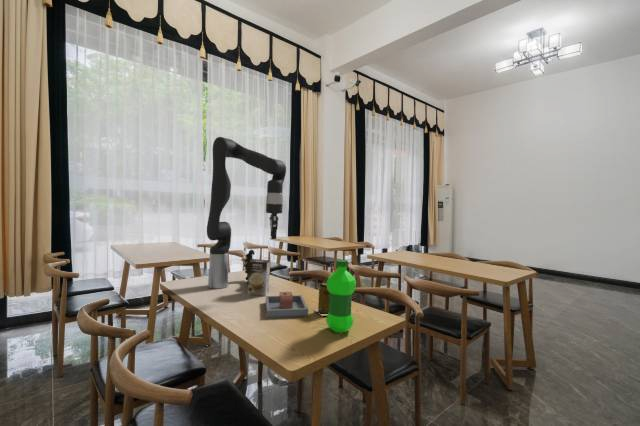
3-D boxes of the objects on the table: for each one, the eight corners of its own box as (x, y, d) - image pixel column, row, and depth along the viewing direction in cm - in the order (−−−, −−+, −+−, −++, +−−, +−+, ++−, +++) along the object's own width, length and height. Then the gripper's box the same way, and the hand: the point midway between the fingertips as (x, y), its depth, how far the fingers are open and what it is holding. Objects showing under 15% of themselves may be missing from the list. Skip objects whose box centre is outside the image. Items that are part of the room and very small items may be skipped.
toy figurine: (240, 284, 171) (257, 291, 150) (240, 249, 172) (257, 252, 151) (256, 282, 176) (275, 289, 155) (256, 248, 177) (275, 251, 156)
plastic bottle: (359, 330, 110) (362, 261, 109) (340, 339, 103) (343, 264, 102) (338, 322, 117) (341, 256, 116) (319, 329, 110) (321, 259, 109)
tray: (267, 318, 119) (267, 310, 119) (265, 302, 136) (265, 296, 136) (308, 316, 122) (308, 309, 122) (301, 301, 140) (301, 295, 140)
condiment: (329, 308, 132) (330, 280, 132) (338, 315, 124) (340, 286, 124) (313, 310, 129) (314, 282, 128) (322, 318, 121) (323, 287, 121)
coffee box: (246, 294, 147) (247, 261, 146) (251, 291, 153) (252, 258, 152) (265, 296, 146) (266, 262, 145) (269, 292, 152) (270, 259, 152)
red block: (280, 310, 126) (280, 295, 126) (279, 306, 131) (279, 291, 131) (292, 309, 127) (292, 295, 127) (290, 305, 132) (291, 291, 132)
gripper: (265, 202, 149) (264, 235, 150) (266, 202, 135) (265, 239, 136) (281, 202, 151) (280, 236, 151) (283, 203, 137) (282, 239, 137)
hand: (273, 237), depth 144 cm, fingers open, 8 cm apart
